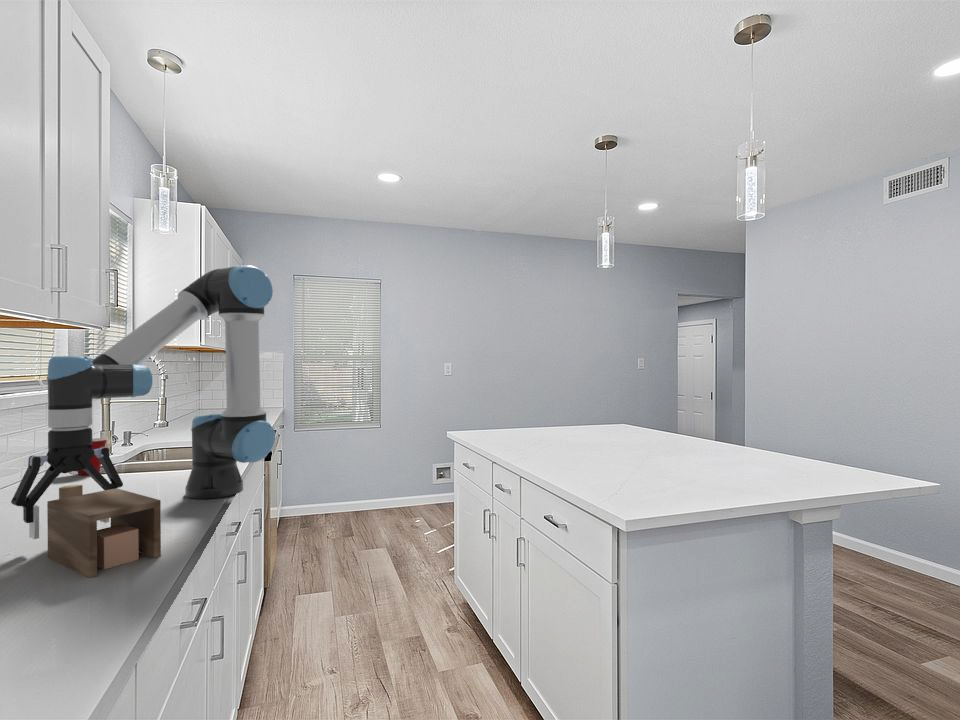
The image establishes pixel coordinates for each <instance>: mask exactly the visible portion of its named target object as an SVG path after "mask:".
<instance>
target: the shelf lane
mask: <svg viewBox="0 0 960 720" xmlns="http://www.w3.org/2000/svg"><path fill="white" fill-rule="evenodd" d="M161 503H162V502H161V500H160V499H157V498H154V497H150V496H147V495H143V494H139V493H135V492H132V491H128V490H124V489H120V488H115V489H110V490H105V491H104V490H101V491H95V492H90V493H85V494H83V495H79V496H73V497H68V498H63V499H59V498H58V499H53V500H48V501H47V504H46V505H47V506H46V507H47V559H50V560H52V561H53V562H56V563H58V564H59V565H62V566H64V567H65V568H68V569H71V570H72V571H74V572H77V573H78V574H81V575H83V576H85V577H87V578H93V577H94V578H95V577H97V576H98V567H97V530H98V521H100V520H102V519H107V518H109V519H110V527H112V526H116V525H121V524H125V525H128V526H131V527H134V528H137V529H138V544H139V553H141V554H142V555H146V556H148V557H151V558H154V559H155V558H156V559H157V558H159V557H161V555H162V548H161V547H162V541H161V540H162V539H161V535H162V533H161V532H162V530H161V528H162V527H161V526H162V525H161V522H162V521H161V518H162V517H161V515H162V513H161V510H162V509H161V507H162V506H161Z"/></svg>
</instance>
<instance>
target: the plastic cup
mask: <svg viewBox="0 0 960 720" xmlns="http://www.w3.org/2000/svg"><path fill="white" fill-rule="evenodd" d="M108 440H109V438H108V437H106V438H105V437H100V438H96V437H95V438H92V448H93V449H98V448H99V447H105V448H106V445H107V441H108ZM89 462H90V463H91V464H92V465H93V466H94V467H95V469H96V470H97V471H98V472H99V473H100V470H101V466H102V464H101V462H100V460H99V458H97V457H96V455H95V454H94V456H93V457H92V458H91V460H90V461H89ZM77 475H78V476H89V475H88V474H87V473H86V472H85V471H84V470H83V469H82V470H81V471H77Z"/></svg>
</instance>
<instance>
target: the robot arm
mask: <svg viewBox="0 0 960 720" xmlns="http://www.w3.org/2000/svg"><path fill="white" fill-rule="evenodd" d="M273 291H274V290H273V285H272V282H271V280H270V277H269V276H268V275H267V274H266V273H265V271H263V270H262V269H261V268H259V267H256V266H253V265H236V266H230V267H225V268H217V269H216V268H215V269H212V270H210V271H208V272H206V273H204V274H203V275H201V276H200V277H199V278H197V279H196V280H194V281H193V282H192V283H190V284H189V285H187V286H186V287H185V288H183V289H182V290H180V291H179V292H178V294H177V298H176V299H175V300H173V302H170V303H169V304H168V305H167V306H165V307H164V308H163V309H162V310H160V311H159V312H157V313H156V314H155V315H153V316H152V317H150V318H149V319H147V320H146V321H145V322H143V323H142V324H141V325H139V326H138V327H137V328H135V329H134V330H133V331H131V332H129V333H128V334H127V335H126V336H124V337H123V338H122V339H120V340H119V341H118V342H116V343H115V344H114V345H112V346H110V347H109V348H107V349H106V350H105V351H104V352H103V353H101V354H100V355H98V356H96V357H95V358H93V359H92V357H90V356H85V355H82V356H81V355H77V356H75V355H74V356H70V355H69V356H68V355H67V356H66V355H63V356H62V355H59V356H58V355H57V356H52V357H51V358H49V360H48V366H47V376H46V379H47V398H48V399H47V401H48V405H47V408H48V409H47V412H48V413H47V427H48V428H49V429H51V430H49V431H48V432H47V453H46V455H38V456H37V455H29V457H28V463H27V465H28V466H27V468H26V470H25V473H24V474H23V477H22V478H21V480H20V483H19V485H18V487H17V489H16V491H15V493H14V495H13V497H12V499H11V500H10V503H11V505H14V506H16V507H22V509H23V512H22V513H23V516H22V517H23V518H22V521H23V522H24V523H26V524H28V525H29V526H28V527H29V528H28V529H29V530H28V531H29V532H28V533H29V534H28V536H29V537H28V538H30V539H32V540H37V539H40V506H39V505H36V503H37V502H38V501H39V500H40V498H41V497H42V496H43V495H44V493H45V492H46V490H47V489H48V488H49V487H50V486H51V484H52V483H53V482H54V481H55V479H56V478H57V477H59V476H60V475H61V474H69V473H71V472H78V471H81V470H82V469H83V470H84V471H85V472H86V473H87V474H88V475H87V476H89V477H90V478H91V479H93V481H94V482H95V483H96V484H97V485H98V486H99V487H100V488H102V490H103V491H105V490H110V489H115V488H117V489H120V488H122V487H123V486H124V483H123V481H122V478H121V477H120V475H119V472H118V471H117V470H116V467H115V465H114V463H113V461H112V460H111V458H110V449H109V448H108V447H106V446H105V447H99V448H98V449H93V448H92V439H93V429H92V428H91V426H92V425H93V400H99V399H115V398H116V399H118V398H136V397H142V396H143V397H144V396H146V395H148V394H149V393H150V391H151V390H152V388H153V373H152V371H151V369H150V368H149V367H148V366H147V365H144V364H143V363H145V361H147V360H149V359H150V358H151V357H152V356H153V355H154V354H156V353H157V352H159V351H160V350H161V349H162V348H164V347H165V346H166V345H168V344H169V343H171V341H173V340H174V339H175V338H177V337H178V336H179V335H181V334H182V333H183V332H184V331H186V330H187V329H189V328H190V327H192V325H193V324H195V323H196V322H197V321H198V320H199V321H205V320H206V319H207V318H209V317H211V315H213V314H215V313H217V312H218V316H220V318H221V319H223V321H224V335H225V337H224V339H225V340H224V341H225V384H226V385H225V387H226V391H225V392H226V394H225V395H226V408H225V410H224V411H223V412H222V413H213V414H203V415H197V416H195V417H194V418H193V419H192V423H191V429H190V432H191V451H192V452H191V460H192V461H191V462H192V465H191V466H192V467H191V470H190V474H189V477H188V479H187V483H186V485H185V497H186V498H189V499H197V500H198V499H200V500H201V499H202V500H206V499H207V500H208V499H218V498H225V497H230V496H234V495H237V494H240V493H241V492H242V491H244V481H243V478H242V475H241V473H240V470H239V468H238V465H237V464H238V463H237V462H239V463H243V464H245V463H248V464H249V463H251V464H252V463H257V462H260V461H262V460H263V459H265V458H266V457H267V456H268V454H269V453H271V451H272V450H273V448H274V445H275V443H276V442H275V441H276V431H275V429H274V427H273V426H272V425H271V424H270V422H267V411H266V410H265V409H264V408H262V406H261V380H260V379H261V375H260V373H261V370H260V368H261V367H260V365H261V364H260V326H259V323H260V321H261V320H262V319H263V317H264V316H265V307H266V306H267V305H268V304H269V303H270V301H271V300H272V298H273ZM94 454H95V455H96V457H97V458H99V460H100V462H101V466H102V468H103V470H104V472H105V473H106V475H107V477H108V479H109V481H108V480H107V479H106V478H105V477H104V476H103V475H102V473H101V472H100V471H99V472H98V471H97V470H96V469H95V467H94V466H93V465H92V464H91V463H90V462H89V461H90V460H91V458H92V457H93V456H94ZM46 462H47V463H48V464H49V467H48V468H47V470H45V472H44V475H42V477H41V478H40V480H39V481H38V482H37V484H36V485H34V487H33V489H32V490H31V488H32V486H33V484H34V483H35V480H36V478H37V476H38V474H39V471H40V469H41V467H43V465H44V463H46ZM99 522H102V523H105V524H106V523H110V518H107V519H102V520H99Z"/></svg>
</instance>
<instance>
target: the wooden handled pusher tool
mask: <svg viewBox="0 0 960 720" xmlns="http://www.w3.org/2000/svg"><path fill="white" fill-rule="evenodd" d="M83 493H84V492H83V484H70V485H63V486H60V487H59V488H58V499H63V498H68V497H73V496H79V495H84V494H83ZM139 553H140V552H139V544H138V529H137V528H134V527H131V526H128V525H125V524H121V525H116V526H112V527H111V526H109V527H105V528H101V529H97V566H98V567H97V568H100V569H102V568H103V569H102V570H104V569H105V570H107V568H108V569H110V567H111V568H114V567H113V566H115V567H118V566H120V564H121V565H125V564H127V563H131V562H134V561H137V560H139V557H140V556H139ZM124 563H125V564H124ZM117 565H118V566H117Z"/></svg>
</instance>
